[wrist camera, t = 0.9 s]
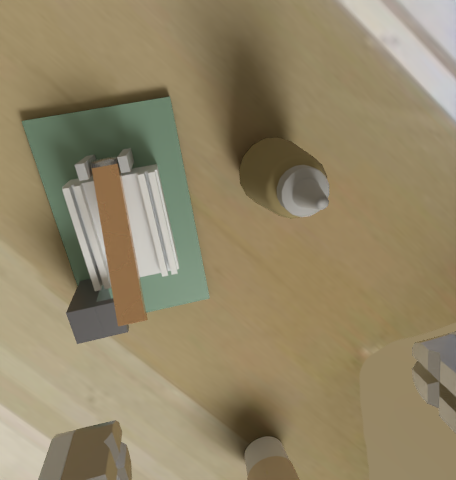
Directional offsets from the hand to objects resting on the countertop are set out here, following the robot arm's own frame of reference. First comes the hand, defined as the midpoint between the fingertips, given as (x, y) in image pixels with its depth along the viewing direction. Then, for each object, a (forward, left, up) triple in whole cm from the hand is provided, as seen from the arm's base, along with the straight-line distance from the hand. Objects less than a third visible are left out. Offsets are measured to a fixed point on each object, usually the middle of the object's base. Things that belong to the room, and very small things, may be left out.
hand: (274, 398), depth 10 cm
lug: (+13, -13, -38) cm, 42 cm away
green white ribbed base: (+4, -8, -39) cm, 40 cm away
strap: (+4, -8, -30) cm, 31 cm away
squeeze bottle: (+2, +10, -39) cm, 40 cm away
